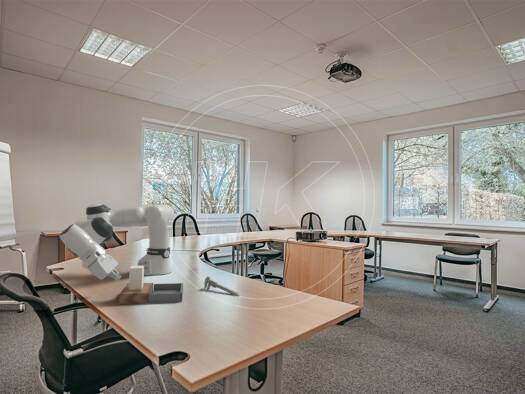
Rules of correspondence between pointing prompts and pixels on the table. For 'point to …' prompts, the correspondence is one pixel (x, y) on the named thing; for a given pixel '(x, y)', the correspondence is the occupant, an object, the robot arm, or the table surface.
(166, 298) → the bin
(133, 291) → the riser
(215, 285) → the caliper
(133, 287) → the block
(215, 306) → the table surface
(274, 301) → the table surface
